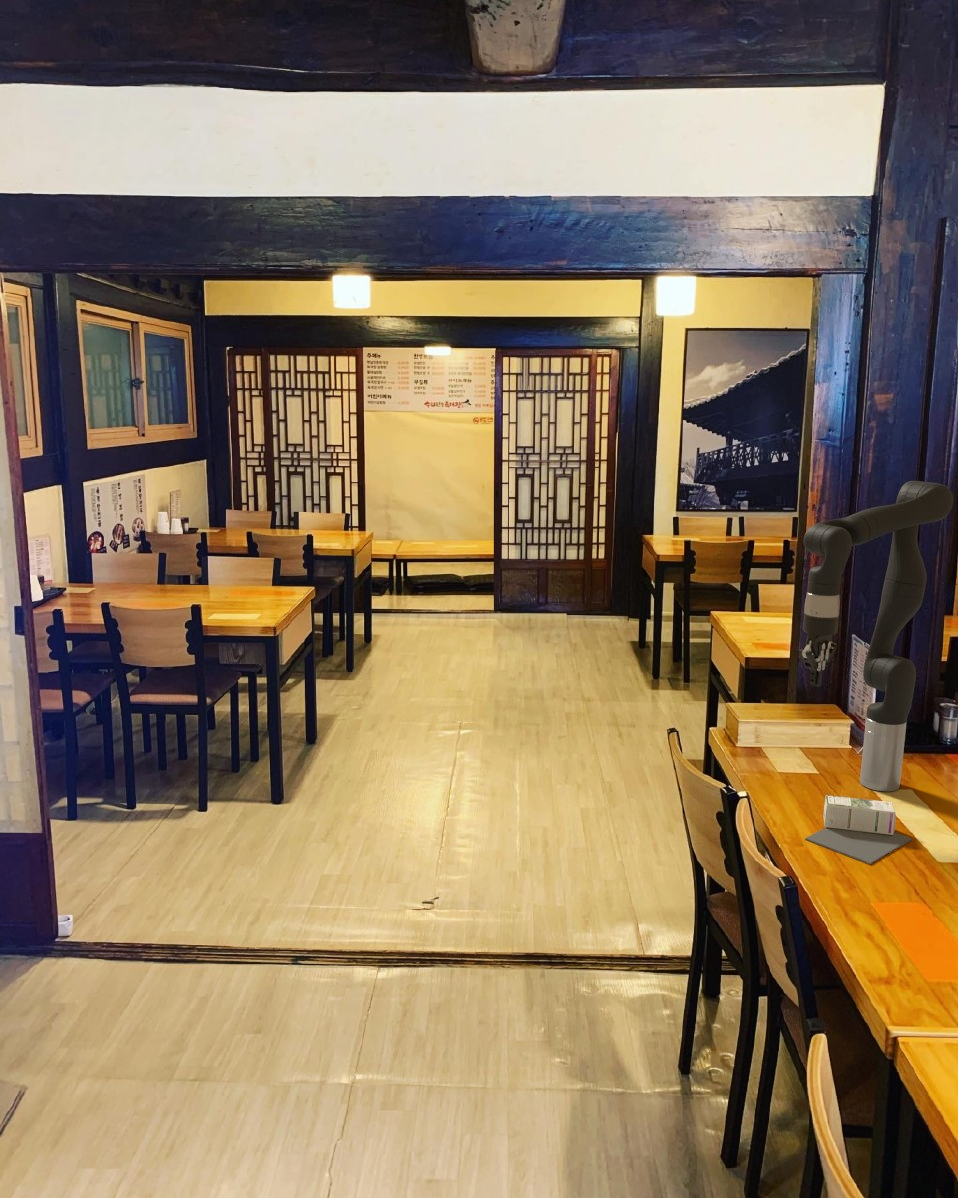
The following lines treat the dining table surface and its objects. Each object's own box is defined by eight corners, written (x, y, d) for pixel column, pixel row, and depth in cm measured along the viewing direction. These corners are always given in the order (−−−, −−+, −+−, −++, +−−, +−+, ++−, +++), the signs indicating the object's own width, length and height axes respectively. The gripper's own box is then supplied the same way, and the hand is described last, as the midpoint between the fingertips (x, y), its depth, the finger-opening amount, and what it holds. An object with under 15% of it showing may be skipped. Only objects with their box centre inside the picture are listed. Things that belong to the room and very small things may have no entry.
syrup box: (824, 828, 221) (893, 837, 217) (826, 803, 220) (897, 812, 216) (822, 817, 227) (890, 826, 223) (825, 793, 225) (893, 801, 221)
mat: (848, 817, 228) (848, 815, 228) (911, 840, 217) (911, 838, 217) (805, 839, 216) (805, 838, 216) (870, 864, 205) (870, 863, 205)
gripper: (820, 619, 219) (814, 694, 223) (851, 611, 228) (845, 683, 231) (790, 613, 225) (784, 687, 228) (822, 605, 233) (815, 676, 237)
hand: (815, 685), depth 230 cm, fingers closed
